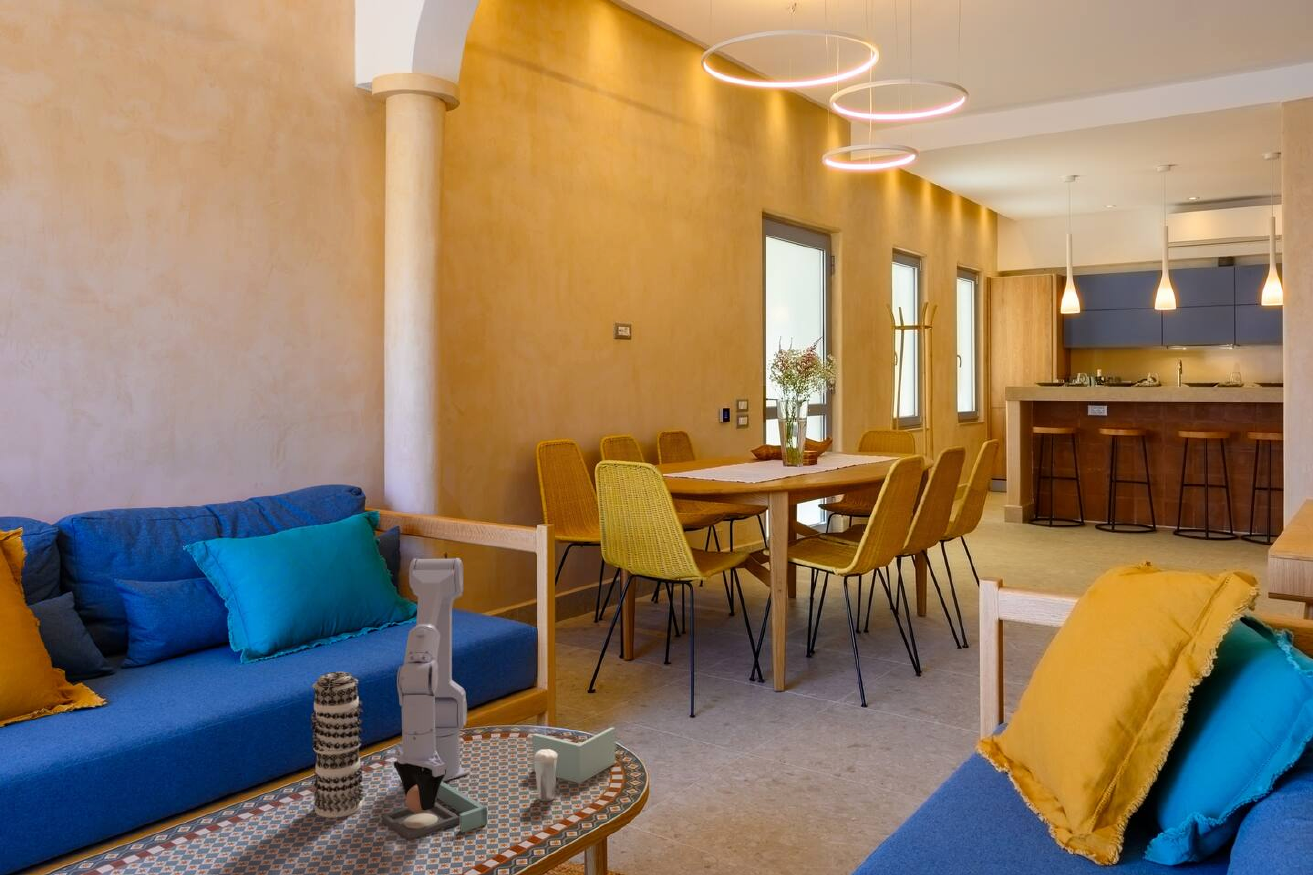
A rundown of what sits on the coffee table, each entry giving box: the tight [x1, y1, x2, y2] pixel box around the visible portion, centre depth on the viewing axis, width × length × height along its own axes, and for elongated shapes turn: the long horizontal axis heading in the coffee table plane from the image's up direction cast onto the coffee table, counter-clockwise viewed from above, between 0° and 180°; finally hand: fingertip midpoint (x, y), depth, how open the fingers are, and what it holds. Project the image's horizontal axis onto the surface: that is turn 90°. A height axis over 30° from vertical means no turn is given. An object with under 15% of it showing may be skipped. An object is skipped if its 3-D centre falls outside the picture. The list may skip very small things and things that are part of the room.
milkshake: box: [534, 747, 562, 802], centre depth 187 cm, size 4×5×10 cm
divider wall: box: [436, 781, 488, 834], centre depth 181 cm, size 17×5×3 cm, turn 42°
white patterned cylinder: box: [310, 671, 364, 819], centre depth 183 cm, size 9×9×25 cm
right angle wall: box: [531, 727, 616, 784], centre depth 202 cm, size 12×12×8 cm
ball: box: [405, 785, 428, 813], centre depth 177 cm, size 5×5×5 cm
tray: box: [381, 801, 460, 842], centre depth 177 cm, size 10×10×1 cm
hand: (420, 803), depth 177 cm, fingers closed on ball, 5 cm apart
